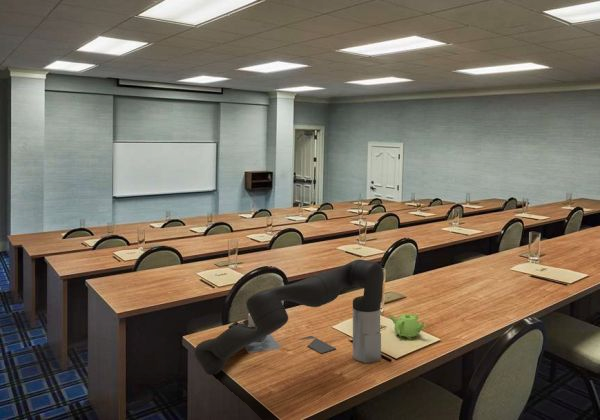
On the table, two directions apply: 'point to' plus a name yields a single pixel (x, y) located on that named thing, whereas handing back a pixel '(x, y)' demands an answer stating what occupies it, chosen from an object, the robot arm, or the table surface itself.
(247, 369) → the table surface
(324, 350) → the smartphone
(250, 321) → the block
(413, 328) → the teapot
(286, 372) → the table surface
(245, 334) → the robot arm
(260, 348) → the desk mat
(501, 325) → the table surface
